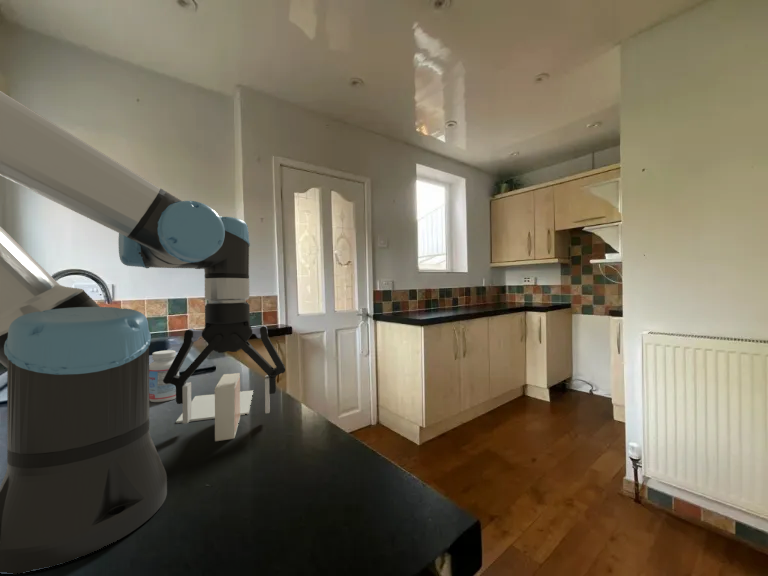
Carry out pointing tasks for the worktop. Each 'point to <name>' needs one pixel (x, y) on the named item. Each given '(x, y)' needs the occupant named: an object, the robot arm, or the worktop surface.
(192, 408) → the mat
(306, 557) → the worktop surface
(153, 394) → the pill bottle
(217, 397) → the cream rectangular block
